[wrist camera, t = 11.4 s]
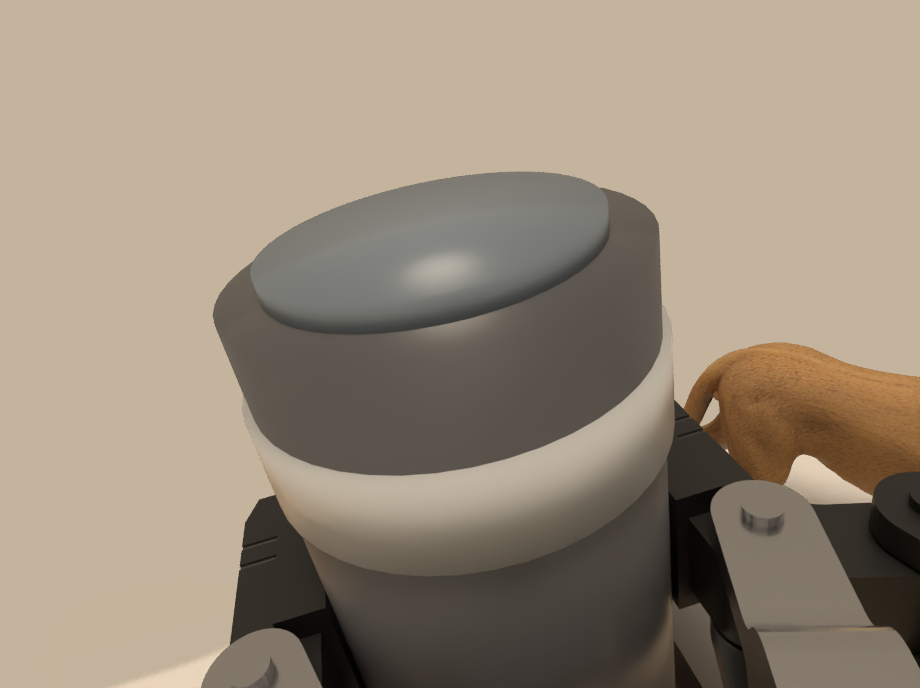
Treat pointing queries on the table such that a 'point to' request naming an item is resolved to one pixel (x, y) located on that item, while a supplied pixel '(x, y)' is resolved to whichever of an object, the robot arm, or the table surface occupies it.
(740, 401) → the lion figurine
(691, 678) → the mount
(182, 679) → the table surface
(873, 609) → the robot arm
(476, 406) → the grey thermos
